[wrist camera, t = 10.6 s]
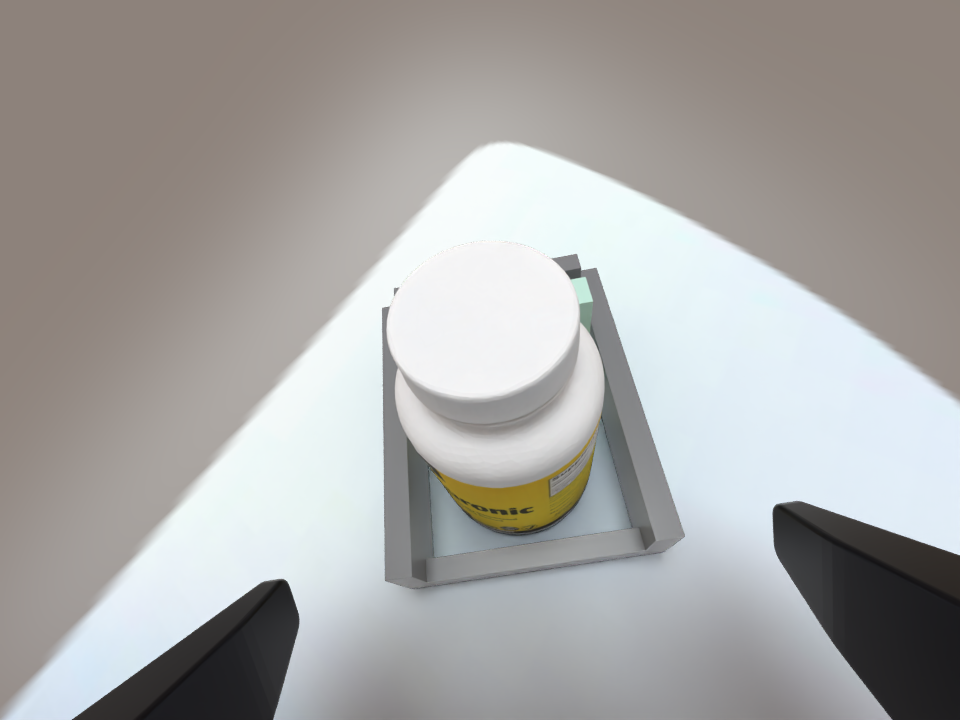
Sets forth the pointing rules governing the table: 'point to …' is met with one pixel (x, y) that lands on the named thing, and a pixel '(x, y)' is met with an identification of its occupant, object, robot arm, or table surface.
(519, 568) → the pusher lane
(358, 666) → the table surface
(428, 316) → the supplement bottle
